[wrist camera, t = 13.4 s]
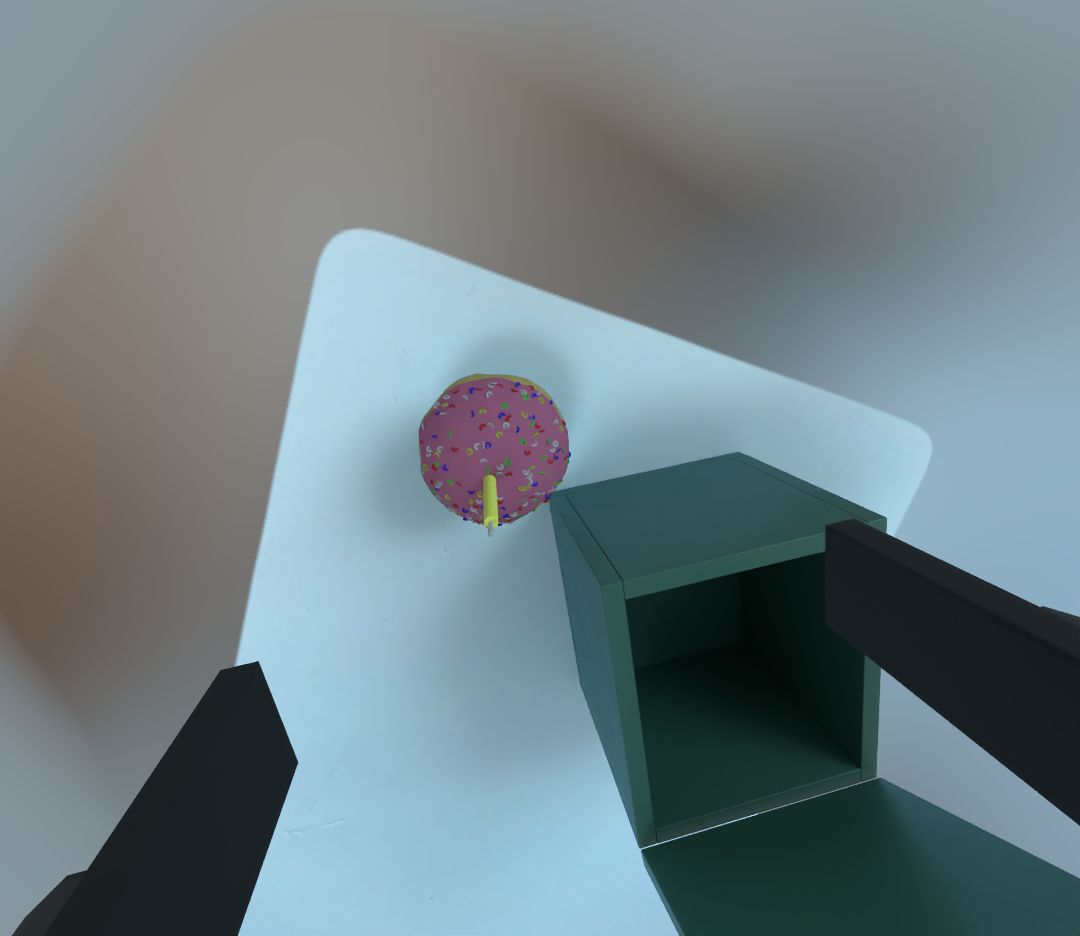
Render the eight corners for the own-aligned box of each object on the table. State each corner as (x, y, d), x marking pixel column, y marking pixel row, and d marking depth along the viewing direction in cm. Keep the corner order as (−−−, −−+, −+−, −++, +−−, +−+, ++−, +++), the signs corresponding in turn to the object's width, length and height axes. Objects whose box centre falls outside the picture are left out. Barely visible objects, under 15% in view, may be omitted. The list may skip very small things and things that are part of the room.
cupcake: (525, 512, 35) (560, 604, 23) (402, 473, 33) (376, 552, 21) (573, 394, 33) (637, 432, 22) (447, 344, 31) (446, 357, 20)
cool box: (547, 492, 35) (600, 586, 22) (739, 451, 36) (887, 517, 24) (580, 684, 39) (639, 849, 27) (748, 641, 41) (876, 777, 29)
